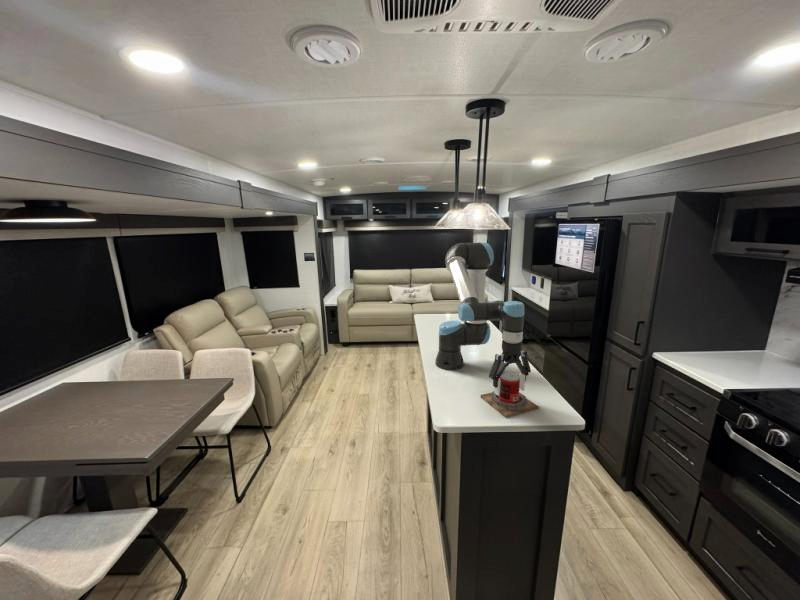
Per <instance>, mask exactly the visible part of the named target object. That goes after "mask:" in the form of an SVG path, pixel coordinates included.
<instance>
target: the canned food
mask: <svg viewBox="0 0 800 600" xmlns="http://www.w3.org/2000/svg"><path fill="white" fill-rule="evenodd" d="M499 380H500V396H499V399H500V401H502V402H505V403H511V404H516V403H518V400H519V392H520V388H519V387H520V376H519V373H517V372H513V371H504V372H503V373H502V375H501V377H500V378H499Z"/></svg>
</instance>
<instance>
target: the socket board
mask: <svg viewBox="0 0 800 600" xmlns="http://www.w3.org/2000/svg"><path fill="white" fill-rule="evenodd" d="M480 399H482V400H483V401H484V402H485V403H487V404H488V405H489V406H491V407H492V408H493V409H494V411H497V412H498V413H499V414H500V415H501V416H503V418H506V419H507V418H508V417H513V416H516V415H517V416H518V415H521V414H526V413H528V412H529V413H530V412H533V411H536V410H539V408H540V407H539V406H540V405H538V404H536V403H534V402H533V401H532V400H530V399H528V398H527V397H526V395H524V394H523V393H522V392H521V391H519V400H518V403H516V404H511V403H505V402H502V401H500V399H499V396H498V395H496V394H495V393H494V390H493V391H492V392H487V393H483V394H480Z"/></svg>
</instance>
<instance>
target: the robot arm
mask: <svg viewBox="0 0 800 600" xmlns="http://www.w3.org/2000/svg"><path fill="white" fill-rule="evenodd" d="M494 258H495V255H494V250H493V248H492V246H491V244H490V243H487V242H460V243H456V244H454V245H453V246H451V247H450V248H449V249H448V250H447V253H446V255H445V259H444V264H445V267H446V269H447V271H448V272H449V273H450V275H451V279H452V281H453V285H454V288H455V290H456V293H457V296H458V299H459V303H460V304H459V305H458V307H457V315H458V316H457V317H458V319H459V320H460V321H459V320H448V321H444V322H442V323H441V324H440V325H439V326H438V327H439V328H438V351H437V354H436V357H435V360H434V361H435V366H436V367H438V368H440V369H442V370H443V369H444V370H448V371H451V370H459V369H461V368H463V367H464V365H465V363H464V358H463V354H462V352H461V350H462V349H461V348H462V347H463V346H480V345H485V344H487V343H488V342H489V340H490V338H491V327H490V324H489V323H488V321H500V322H502V333H501V335H502V336H501V339H502V341H501V350H502V353H501V354H498V353H496V354H495V355H494V361H493V363H492V366H491V369H490V372H489V373H488V374H489V375H488V378H490V379H492V387H493V391H494V393H495V394H496V395H498V396H500V377H501V375H502V373H503V372H505V370H506V368H507V367H508V366H509V365H512V364H516V367H517V368H518V370H519V373H518V375H519V376H520V387H519V390H521V391H525V382H526V380H527V376H529V374H530V373H531V372H532V370H531V366H530V363H529V359H528V352H527V351H526V350H524V349H523V338H524V336H523V335H524V322H525V304H524V303H523V302H522V301H518V300H508V301H507V300H506V301H503V300H494V301H491V302H485V298H486V297H485V296H486V295H485V292H486V291H485V289H486V286H485V285H486V273H487V271H488V270H489V269H490V268H489V267H490V266H492V265H493V262H494ZM462 322H463V323H462Z"/></svg>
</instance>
